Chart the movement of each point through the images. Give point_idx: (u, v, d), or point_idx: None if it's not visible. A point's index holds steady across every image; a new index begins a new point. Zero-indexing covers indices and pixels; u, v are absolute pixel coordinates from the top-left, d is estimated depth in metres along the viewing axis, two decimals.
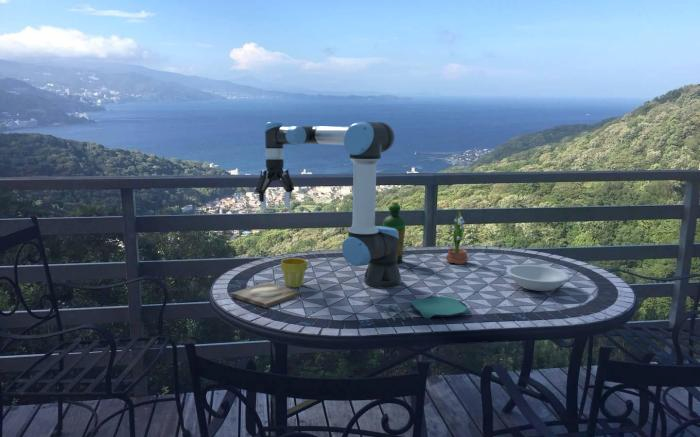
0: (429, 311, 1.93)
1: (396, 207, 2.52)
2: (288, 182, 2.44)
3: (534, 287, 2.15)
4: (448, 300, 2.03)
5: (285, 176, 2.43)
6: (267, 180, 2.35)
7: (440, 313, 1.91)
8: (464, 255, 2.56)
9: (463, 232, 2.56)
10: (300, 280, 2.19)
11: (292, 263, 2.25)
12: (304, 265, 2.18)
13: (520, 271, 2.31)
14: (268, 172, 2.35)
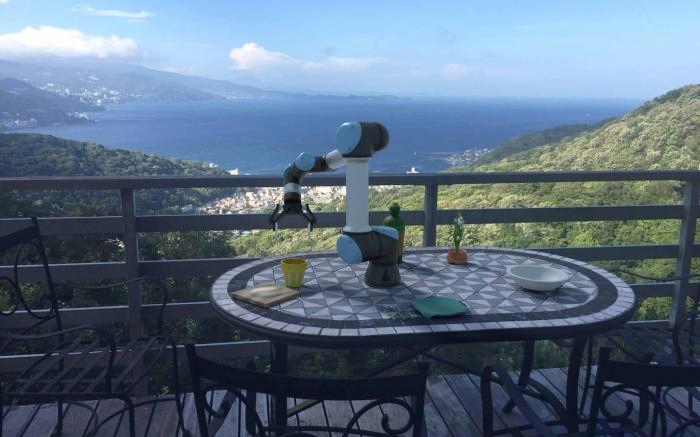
0: (429, 311, 1.93)
1: (396, 207, 2.52)
2: (310, 215, 2.36)
3: (534, 287, 2.15)
4: (448, 300, 2.03)
5: (306, 210, 2.38)
6: None
7: (440, 313, 1.91)
8: (464, 255, 2.56)
9: (463, 232, 2.56)
10: (300, 280, 2.19)
11: (292, 263, 2.25)
12: (304, 265, 2.18)
13: (520, 271, 2.31)
14: (282, 205, 2.37)
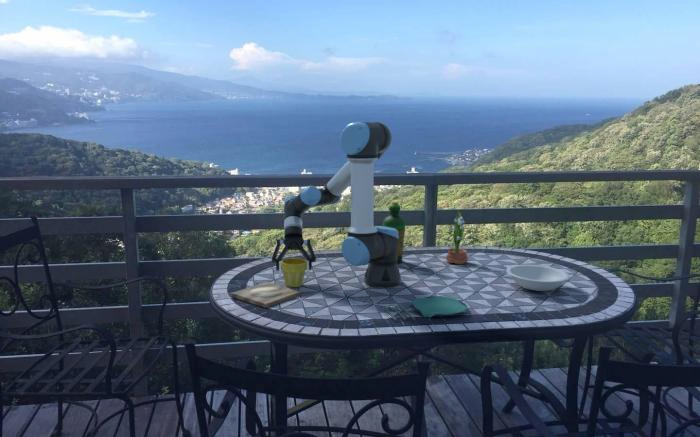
0: (429, 311, 1.93)
1: (396, 207, 2.52)
2: (310, 252, 2.25)
3: (534, 287, 2.15)
4: (447, 300, 2.04)
5: (307, 246, 2.27)
6: None
7: (440, 313, 1.91)
8: (464, 255, 2.56)
9: (463, 232, 2.56)
10: (300, 280, 2.19)
11: (292, 263, 2.25)
12: (304, 265, 2.18)
13: (520, 271, 2.31)
14: (283, 241, 2.27)
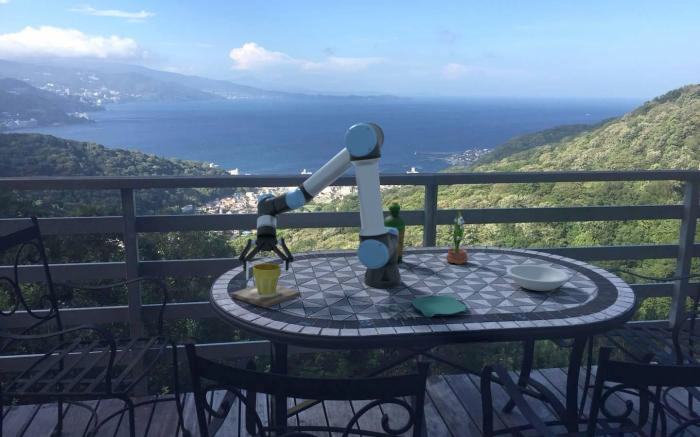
0: (429, 310, 1.94)
1: (396, 207, 2.52)
2: (286, 252, 2.11)
3: (534, 287, 2.15)
4: (447, 299, 2.04)
5: (282, 246, 2.12)
6: None
7: (441, 312, 1.92)
8: (464, 255, 2.56)
9: (463, 232, 2.56)
10: (273, 287, 2.05)
11: (265, 269, 2.11)
12: (277, 271, 2.03)
13: (520, 271, 2.31)
14: (255, 241, 2.12)
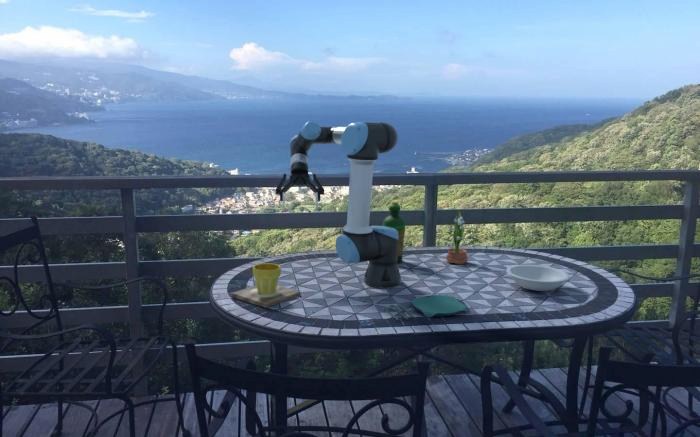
0: (430, 310, 1.94)
1: (396, 207, 2.52)
2: (317, 185, 2.34)
3: (534, 287, 2.15)
4: (446, 298, 2.05)
5: (314, 181, 2.35)
6: None
7: (441, 312, 1.92)
8: (464, 255, 2.56)
9: (463, 232, 2.56)
10: (273, 287, 2.05)
11: (265, 268, 2.10)
12: (277, 271, 2.03)
13: (520, 271, 2.31)
14: (289, 176, 2.35)
